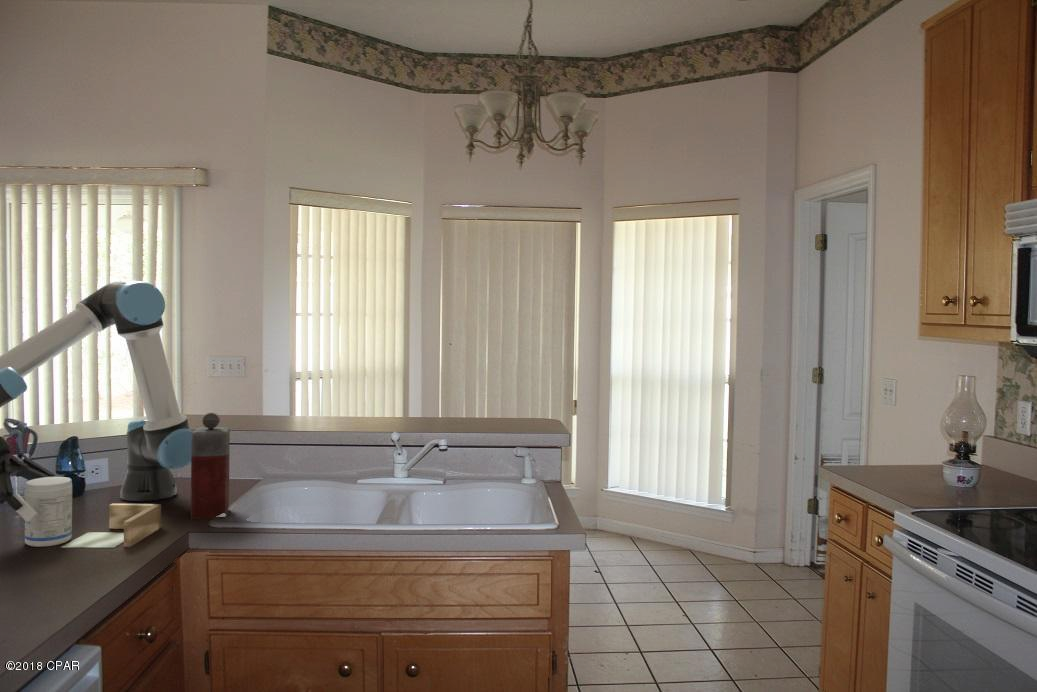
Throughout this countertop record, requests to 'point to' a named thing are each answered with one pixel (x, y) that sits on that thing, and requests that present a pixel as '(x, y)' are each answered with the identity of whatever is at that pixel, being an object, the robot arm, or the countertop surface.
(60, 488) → the supplement tub
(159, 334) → the robot arm
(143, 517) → the corner arena
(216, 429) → the dark red bottle
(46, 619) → the countertop surface
